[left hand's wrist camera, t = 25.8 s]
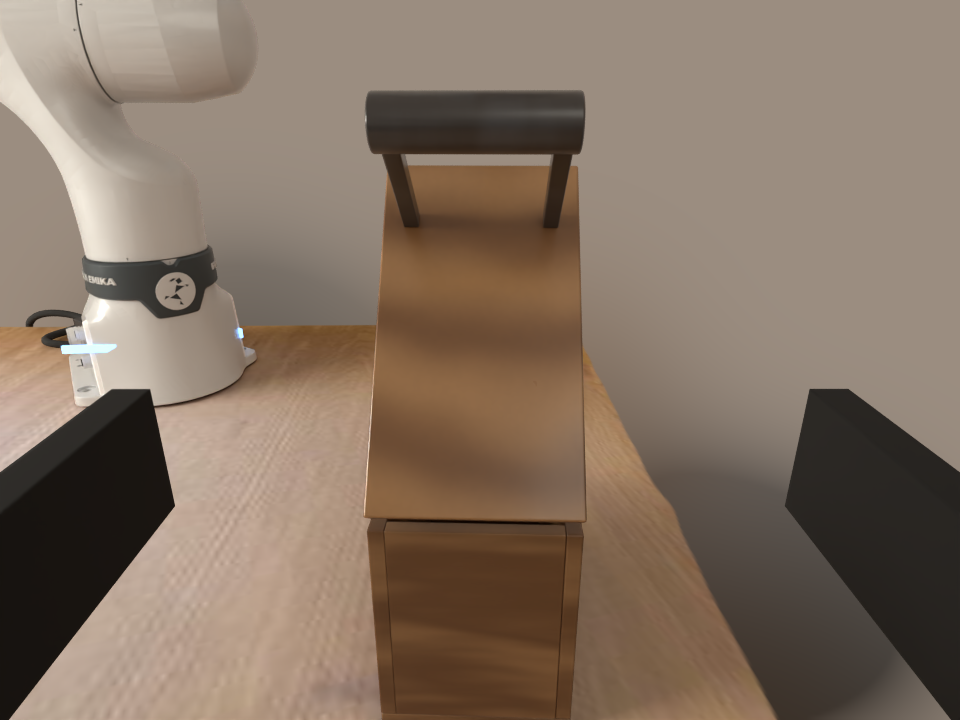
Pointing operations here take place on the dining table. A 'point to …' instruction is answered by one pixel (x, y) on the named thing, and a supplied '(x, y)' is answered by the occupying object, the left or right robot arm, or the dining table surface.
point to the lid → (478, 311)
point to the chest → (475, 618)
